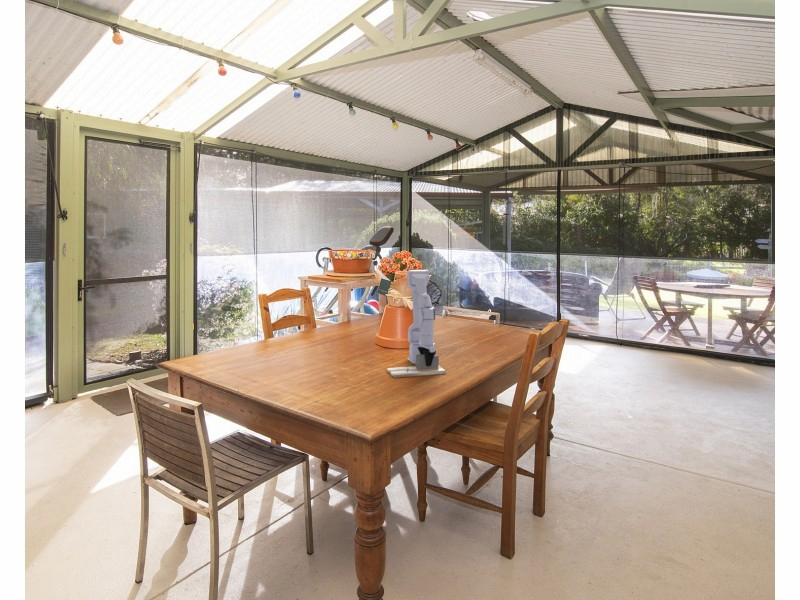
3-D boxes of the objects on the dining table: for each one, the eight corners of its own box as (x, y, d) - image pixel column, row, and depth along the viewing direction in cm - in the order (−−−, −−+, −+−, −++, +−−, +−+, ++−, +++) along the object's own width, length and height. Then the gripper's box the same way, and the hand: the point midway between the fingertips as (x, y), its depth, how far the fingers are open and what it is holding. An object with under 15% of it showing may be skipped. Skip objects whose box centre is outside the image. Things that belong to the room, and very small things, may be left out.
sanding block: (415, 367, 221) (415, 354, 220) (434, 366, 224) (434, 353, 223) (419, 370, 216) (419, 357, 215) (438, 369, 219) (438, 356, 218)
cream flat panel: (386, 370, 220) (386, 368, 220) (436, 366, 227) (436, 364, 227) (393, 377, 210) (393, 375, 210) (446, 373, 217) (446, 370, 217)
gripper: (441, 337, 212) (440, 367, 214) (429, 330, 226) (429, 359, 228) (426, 338, 210) (425, 369, 212) (415, 331, 224) (414, 360, 226)
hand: (426, 364), depth 220 cm, fingers closed on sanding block, 5 cm apart
